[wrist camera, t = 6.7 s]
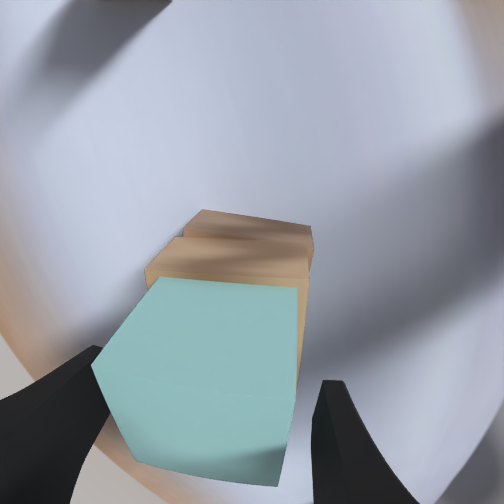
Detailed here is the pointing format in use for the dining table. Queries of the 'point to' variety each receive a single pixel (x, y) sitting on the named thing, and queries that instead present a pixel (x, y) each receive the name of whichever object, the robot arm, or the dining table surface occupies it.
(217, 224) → the brown wooden block
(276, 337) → the cube
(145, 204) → the dining table surface
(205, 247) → the slab upper
